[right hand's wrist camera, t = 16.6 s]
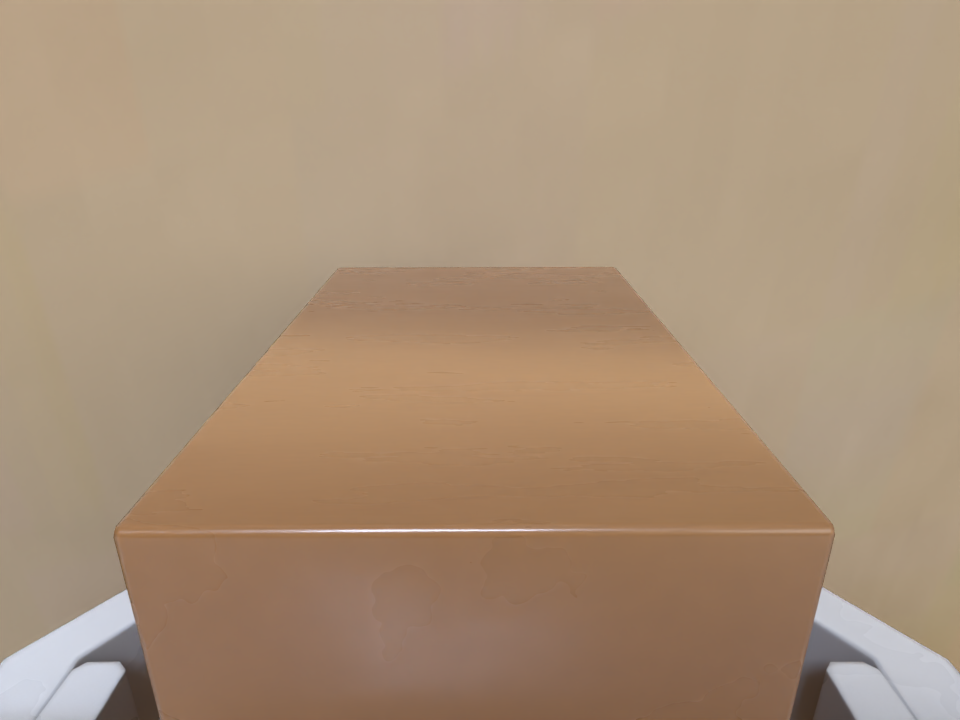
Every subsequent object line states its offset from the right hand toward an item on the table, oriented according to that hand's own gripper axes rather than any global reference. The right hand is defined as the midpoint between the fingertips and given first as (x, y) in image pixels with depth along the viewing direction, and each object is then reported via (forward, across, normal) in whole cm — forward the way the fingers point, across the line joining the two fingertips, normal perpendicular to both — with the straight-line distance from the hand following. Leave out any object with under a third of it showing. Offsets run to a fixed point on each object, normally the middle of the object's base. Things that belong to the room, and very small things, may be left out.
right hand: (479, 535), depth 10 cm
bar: (+3, 0, -8) cm, 8 cm away
